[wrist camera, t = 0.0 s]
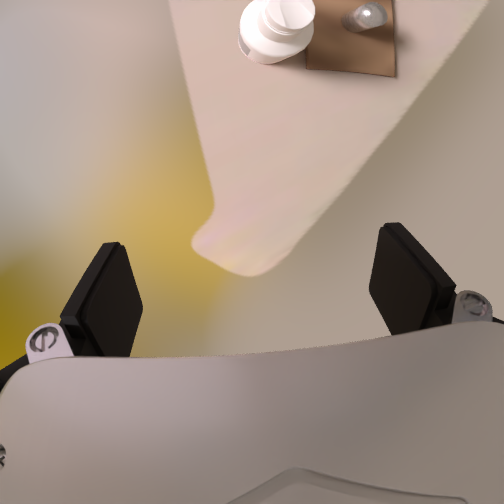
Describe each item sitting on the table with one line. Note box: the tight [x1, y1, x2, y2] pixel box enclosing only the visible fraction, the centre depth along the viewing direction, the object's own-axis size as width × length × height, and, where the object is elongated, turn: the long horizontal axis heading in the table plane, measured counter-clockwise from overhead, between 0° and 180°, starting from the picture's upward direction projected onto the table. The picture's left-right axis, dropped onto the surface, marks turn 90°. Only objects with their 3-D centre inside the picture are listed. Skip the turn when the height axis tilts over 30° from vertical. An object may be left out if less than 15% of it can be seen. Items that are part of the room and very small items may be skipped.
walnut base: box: [305, 0, 395, 77], centre depth 29 cm, size 14×12×2 cm
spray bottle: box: [238, 0, 315, 64], centre depth 24 cm, size 7×7×18 cm
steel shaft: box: [342, 2, 388, 33], centre depth 26 cm, size 3×3×7 cm
